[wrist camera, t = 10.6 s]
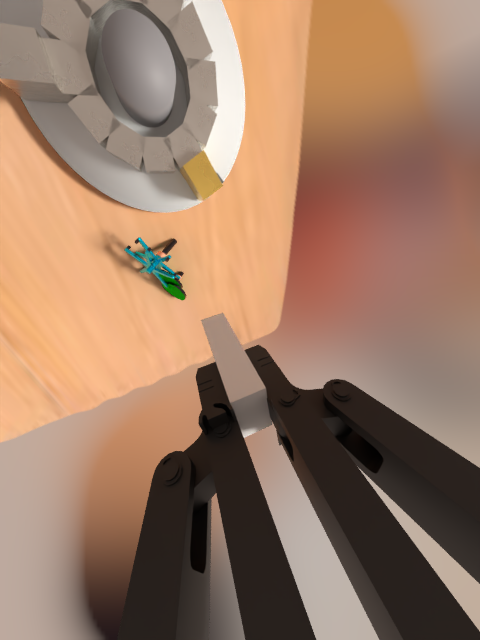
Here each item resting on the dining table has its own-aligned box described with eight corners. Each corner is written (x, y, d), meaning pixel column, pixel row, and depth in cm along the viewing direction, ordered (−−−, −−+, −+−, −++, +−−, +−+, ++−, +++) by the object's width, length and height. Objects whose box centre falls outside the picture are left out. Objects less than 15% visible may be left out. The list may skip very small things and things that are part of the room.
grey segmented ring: (148, 239, 29) (146, 245, 26) (-12, 57, 18) (-55, 22, 15) (266, 147, 29) (282, 139, 25) (173, -99, 18) (177, -178, 14)
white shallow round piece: (-45, 76, 19) (-132, 24, 14) (86, -225, 15) (43, -483, 9) (172, 246, 33) (175, 256, 27) (274, 111, 28) (303, 88, 23)
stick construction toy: (110, 248, 28) (145, 251, 24) (142, 217, 31) (177, 215, 27) (163, 300, 38) (194, 309, 34) (183, 273, 40) (214, 278, 36)
